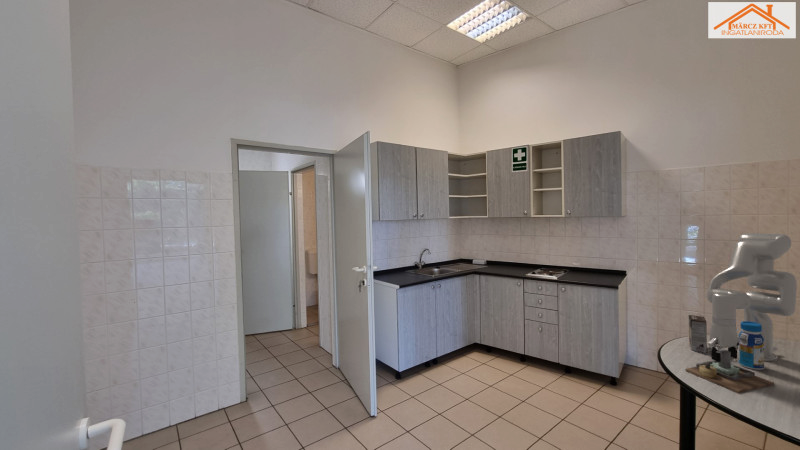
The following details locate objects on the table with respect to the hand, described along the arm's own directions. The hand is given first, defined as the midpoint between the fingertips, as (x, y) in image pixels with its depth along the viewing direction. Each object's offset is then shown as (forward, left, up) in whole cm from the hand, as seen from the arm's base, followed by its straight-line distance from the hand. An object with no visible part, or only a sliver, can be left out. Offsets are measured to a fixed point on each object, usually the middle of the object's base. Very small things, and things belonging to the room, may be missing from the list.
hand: (724, 359), depth 151 cm
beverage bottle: (-18, -1, -7) cm, 19 cm away
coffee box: (-17, -23, -7) cm, 29 cm away
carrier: (+3, +3, -6) cm, 8 cm away
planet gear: (0, 0, -6) cm, 6 cm away
